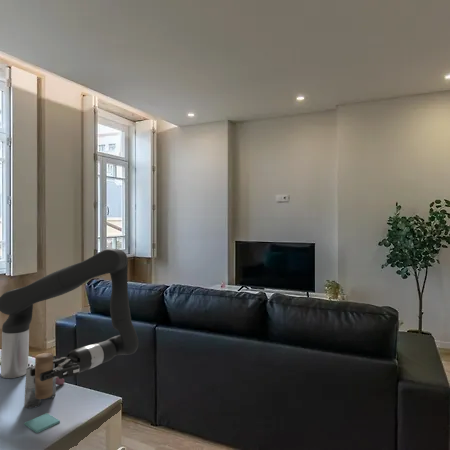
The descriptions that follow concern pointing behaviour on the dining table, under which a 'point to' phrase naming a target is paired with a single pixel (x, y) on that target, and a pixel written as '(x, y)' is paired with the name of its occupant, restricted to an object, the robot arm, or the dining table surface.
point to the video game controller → (59, 381)
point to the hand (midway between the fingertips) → (35, 375)
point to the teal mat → (42, 422)
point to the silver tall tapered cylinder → (30, 391)
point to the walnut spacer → (42, 365)
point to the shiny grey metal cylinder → (53, 386)
